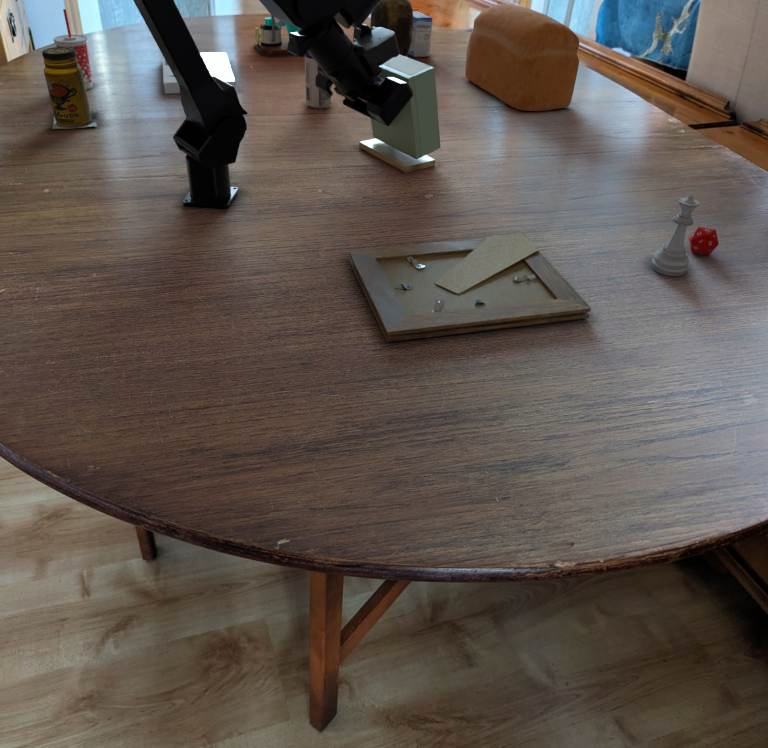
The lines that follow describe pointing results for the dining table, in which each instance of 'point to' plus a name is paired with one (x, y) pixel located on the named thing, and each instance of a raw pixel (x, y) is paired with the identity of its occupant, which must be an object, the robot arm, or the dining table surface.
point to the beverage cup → (77, 50)
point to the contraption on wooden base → (273, 38)
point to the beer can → (312, 92)
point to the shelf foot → (395, 156)
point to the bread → (523, 58)
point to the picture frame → (463, 287)
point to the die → (703, 241)
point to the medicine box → (420, 35)
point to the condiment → (67, 89)
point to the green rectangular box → (412, 110)
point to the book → (214, 63)
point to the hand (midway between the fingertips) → (389, 123)
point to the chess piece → (676, 242)
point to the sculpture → (395, 21)
